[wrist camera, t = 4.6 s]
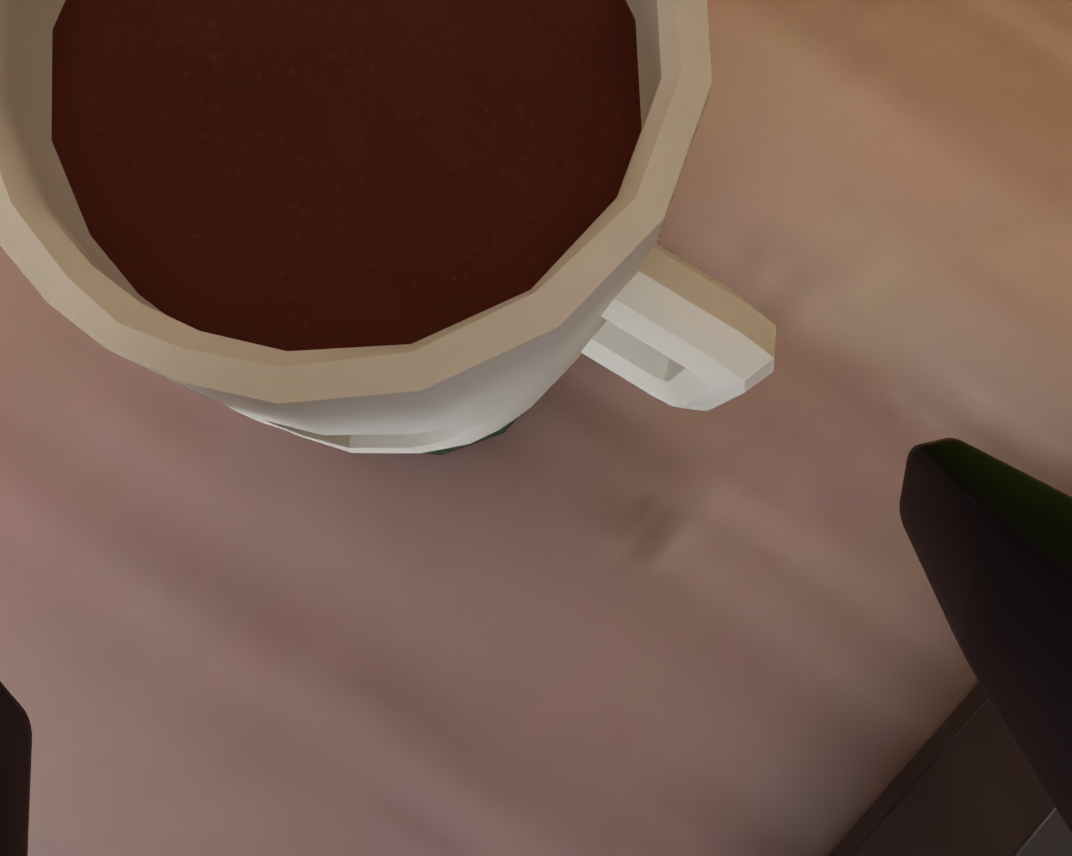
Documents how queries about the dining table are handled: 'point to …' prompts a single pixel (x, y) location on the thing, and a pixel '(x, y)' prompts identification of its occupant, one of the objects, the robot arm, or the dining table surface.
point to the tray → (963, 797)
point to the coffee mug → (370, 203)
